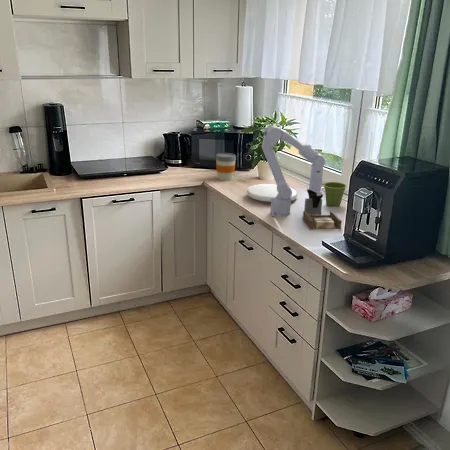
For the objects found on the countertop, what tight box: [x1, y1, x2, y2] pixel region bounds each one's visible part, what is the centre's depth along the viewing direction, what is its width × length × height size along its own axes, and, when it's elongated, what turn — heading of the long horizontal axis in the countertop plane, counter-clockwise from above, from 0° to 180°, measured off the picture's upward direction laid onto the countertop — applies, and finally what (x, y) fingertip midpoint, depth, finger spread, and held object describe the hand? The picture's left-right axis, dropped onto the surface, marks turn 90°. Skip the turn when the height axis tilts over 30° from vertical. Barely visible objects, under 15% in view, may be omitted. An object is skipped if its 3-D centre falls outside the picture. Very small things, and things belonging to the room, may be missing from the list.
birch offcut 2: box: [315, 221, 334, 230], centre depth 212 cm, size 8×2×3 cm, turn 95°
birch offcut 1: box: [313, 218, 332, 226], centre depth 214 cm, size 8×2×3 cm, turn 95°
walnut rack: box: [302, 210, 342, 230], centre depth 216 cm, size 14×14×5 cm
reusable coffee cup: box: [215, 152, 237, 181], centre depth 289 cm, size 13×13×15 cm
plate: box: [246, 183, 298, 203], centre depth 255 cm, size 28×6×27 cm
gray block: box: [303, 197, 323, 215], centre depth 229 cm, size 8×2×8 cm, turn 95°
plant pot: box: [322, 181, 348, 208], centre depth 244 cm, size 12×12×11 cm
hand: (313, 205), depth 229 cm, fingers open, 5 cm apart
